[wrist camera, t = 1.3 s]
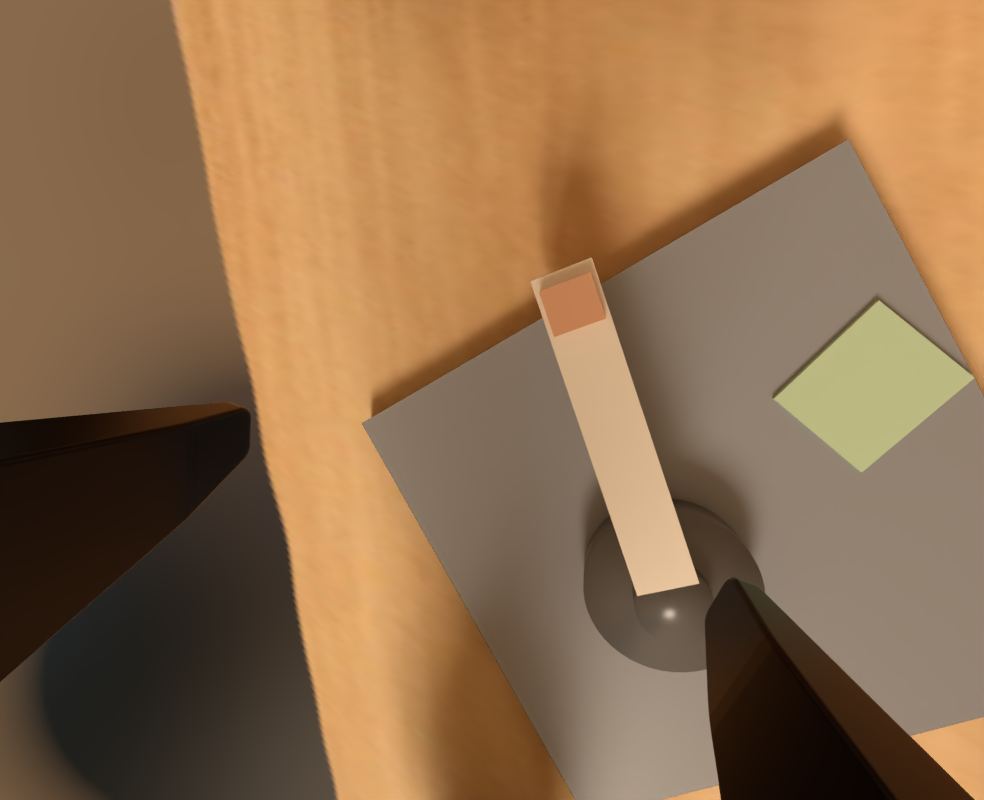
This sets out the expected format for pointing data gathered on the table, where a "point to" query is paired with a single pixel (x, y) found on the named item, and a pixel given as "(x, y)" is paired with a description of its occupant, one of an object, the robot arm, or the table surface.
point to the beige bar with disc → (635, 495)
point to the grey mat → (725, 476)
